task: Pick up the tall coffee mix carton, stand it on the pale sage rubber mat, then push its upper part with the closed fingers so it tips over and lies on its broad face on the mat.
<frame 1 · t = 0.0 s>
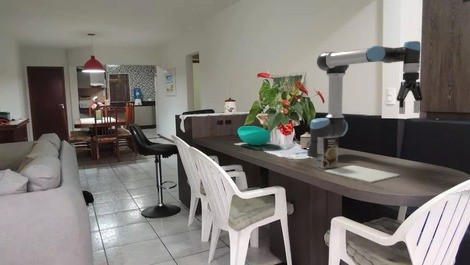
hand: (409, 113, 172), 28 cm above the table, tool pointing down, fingers open, 13 cm apart
table top decor: (256, 145, 257), on the table
mat: (360, 173, 159), on the table
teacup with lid: (307, 148, 238), on the table
coffee box: (327, 167, 176), on the table
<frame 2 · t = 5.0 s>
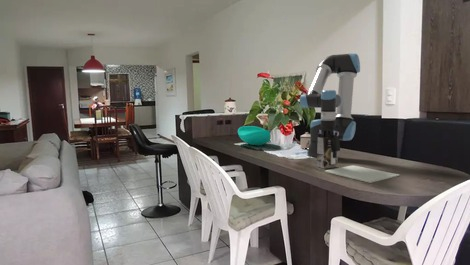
hand: (327, 162, 175), 2 cm above the table, tool pointing down, fingers closed on coffee box, 7 cm apart
coffee box: (327, 167, 176), on the table, touching gripper
everything else where it was.
when the fingers open (4 cm above the table, at t = 10.1 s): coffee box drops 1 cm, resting on mat.
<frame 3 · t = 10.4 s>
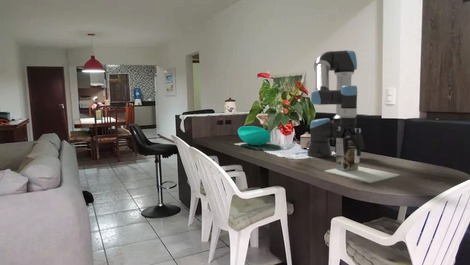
hand: (347, 160, 166), 5 cm above the table, tool pointing down, fingers open, 10 cm apart
coffee box: (347, 169, 166), point 1 cm above the table, touching mat
everything else where it was.
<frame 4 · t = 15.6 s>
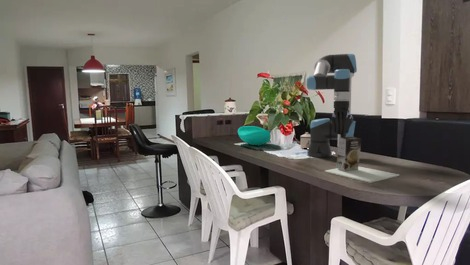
hand: (340, 146, 168), 12 cm above the table, tool pointing down, fingers closed
coffee box: (347, 169, 166), point 1 cm above the table, touching gripper, mat
everything else where it was.
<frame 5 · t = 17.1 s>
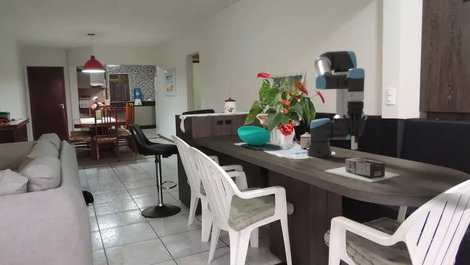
hand: (354, 149, 161), 12 cm above the table, tool pointing down, fingers closed
coffee box: (352, 164, 163), point 4 cm above the table, touching mat
everything else where it was.
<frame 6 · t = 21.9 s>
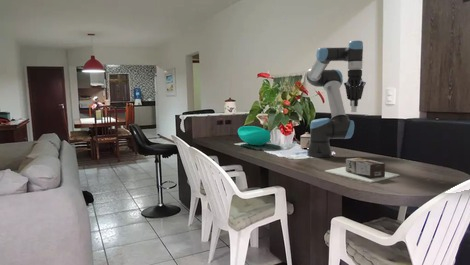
hand: (353, 112, 185), 28 cm above the table, tool pointing down, fingers closed
nothing on the table moved.
at the end: coffee box tilted 90°; coffee box inside the target area on the mat (4.0 cm from its centre), point 3.8 cm above the mat's base; the gripper is holding nothing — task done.
